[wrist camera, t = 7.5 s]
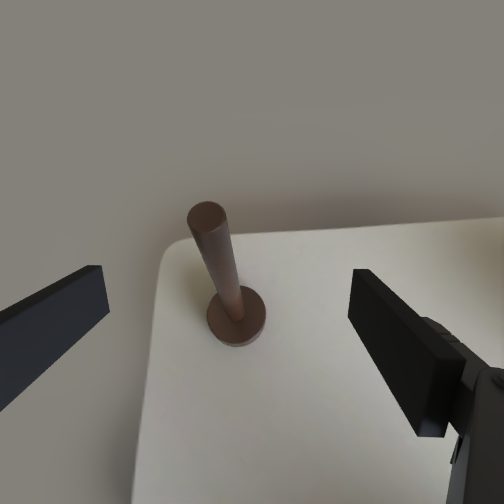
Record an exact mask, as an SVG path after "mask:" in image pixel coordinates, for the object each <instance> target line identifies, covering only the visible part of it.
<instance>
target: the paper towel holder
mask: <svg viewBox="0 0 504 504" xmlns="http://www.w3.org/2000/svg"><path fill="white" fill-rule="evenodd" d="M187 223H188V226H189V228H190V230H191V232H192V235H193V237H194V239H195V242H196V244H197V246H198V248H199V251H200V253H201V255H202V258H203V260H204V262H205V264H206V267H207V269H208V271H209V274H210V276H211V278H212V280H213V283H214V285H215V287H216V290H217V292H218V293H217V294H216V295H215V296H214V297H213V299H212V300H211V302H210V304H209V306H208V310H207V321H208V325H209V327H210V329H211V331H212V333H213V334H214V335H215V336H216V337H217V339H219V340H220V341H221V342H222V343H224V344H226V345H229V346H233V347H240V346H245V345H248V344H250V343H252V342H253V341H254V340H256V339H257V338H258V337H259V335H260V334H261V332H262V331H263V328H264V325H265V319H266V310H265V305H264V302H263V300H262V299H261V297H260V296H259V295H258V294H257V293H256V292H255V291H254V290H252V289H250V288H248V287H245V286H240V284H239V279H238V274H237V269H236V264H235V259H234V254H233V249H232V244H231V238H230V233H229V229H228V223H227V218H226V213H225V210H224V209H223V208H222V207H221V206H220V205H219V204H217V203H215V202H210V201H205V202H201V203H198V204H196V205H195V206H193V207H192V208H191V210H190V211H189V213H188V216H187Z"/></svg>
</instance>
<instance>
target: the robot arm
mask: <svg viewBox="0 0 504 504" xmlns="http://www.w3.org/2000/svg"><path fill="white" fill-rule="evenodd" d="M109 312H110V310H109V304H108V299H107V293H106V288H105V283H104V277H103V272H102V266H101V265H87V266H85V267H83V268H81V269H79V270H78V271H76V272H74V273H72V274H70V275H68V276H66V277H64V278H62V279H61V280H59V281H57V282H55V283H53V284H51V285H49V286H47V287H46V288H44V289H42V290H40V291H38V292H36V293H34V294H32V295H30V296H29V297H27V298H25V299H23V300H21V301H19V302H17V303H15V304H13V305H12V306H10V307H8V308H6V309H4V310H2V311H0V412H1V411H2V410H3V409H4V408H5V407H6V406H7V405H8V404H9V403H10V402H12V401H13V400H14V399H15V398H16V397H17V396H18V395H19V394H20V393H21V392H23V391H24V390H25V389H26V388H27V387H28V386H29V385H30V384H31V383H32V382H33V381H35V379H37V378H38V377H39V376H40V375H41V374H42V373H43V372H45V371H46V369H48V368H49V367H50V366H51V365H52V364H53V363H54V362H55V361H57V360H58V359H59V358H60V357H61V356H62V355H63V354H64V353H65V352H66V351H67V350H69V349H70V348H71V347H72V346H73V345H74V344H75V343H76V342H77V341H78V340H80V339H81V338H82V337H83V336H84V335H85V334H86V333H87V332H88V331H89V330H90V329H92V328H93V327H94V326H95V325H96V324H97V323H98V322H99V321H100V320H101V319H103V318H104V317H105V316H106V315H107V314H108V313H109ZM348 318H349V320H350V322H351V323H352V325H353V327H354V329H355V330H356V332H357V334H358V335H359V337H360V339H361V341H362V342H363V344H364V346H365V347H366V349H367V351H368V353H369V354H370V356H371V358H372V359H373V361H374V363H375V365H376V366H377V368H378V370H379V371H380V373H381V375H382V377H383V378H384V380H385V382H386V383H387V385H388V387H389V389H390V390H391V392H392V394H393V395H394V397H395V399H396V401H397V402H398V404H399V406H400V407H401V409H402V411H403V413H404V414H405V416H406V418H407V419H408V421H409V423H410V425H411V426H412V428H413V430H414V431H415V433H416V435H417V437H441V438H444V436H445V433H446V430H447V426H448V423H449V422H450V423H451V425H452V426H453V427H454V429H455V430H456V432H457V433H458V434H459V436H458V439H457V442H456V445H455V448H454V452H453V455H452V458H451V461H450V464H452V470H451V476H450V482H449V488H448V494H447V500H446V504H504V369H501V368H495V367H490V366H489V365H488V364H486V363H485V362H484V361H483V360H482V359H481V358H479V357H478V356H477V355H476V354H475V353H474V352H472V351H471V350H470V349H469V348H468V347H467V346H465V345H464V344H463V343H460V340H458V339H457V338H456V337H455V336H454V335H451V333H450V332H449V331H448V330H447V329H446V328H445V327H443V326H442V325H441V324H439V323H437V322H435V321H433V320H432V319H430V318H428V317H420V316H419V315H418V314H417V313H416V312H415V311H414V310H413V309H412V308H410V307H409V306H408V305H407V304H406V303H405V302H404V301H403V300H402V299H401V298H400V297H398V296H397V295H396V294H395V293H394V292H393V291H392V290H391V289H390V288H389V287H388V286H387V285H385V284H384V283H383V282H382V281H381V280H380V279H379V278H378V277H377V276H376V275H375V274H374V273H372V272H371V271H370V270H369V269H353V277H352V285H351V293H350V302H349V310H348Z"/></svg>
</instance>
